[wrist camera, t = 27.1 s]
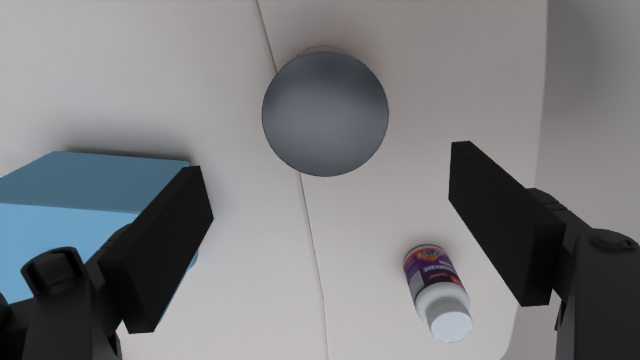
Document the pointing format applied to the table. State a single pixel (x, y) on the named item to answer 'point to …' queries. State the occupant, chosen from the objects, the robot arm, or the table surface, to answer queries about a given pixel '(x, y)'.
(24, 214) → the teapot
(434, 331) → the pill bottle
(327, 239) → the table surface
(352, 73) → the jam lid
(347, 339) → the table surface
